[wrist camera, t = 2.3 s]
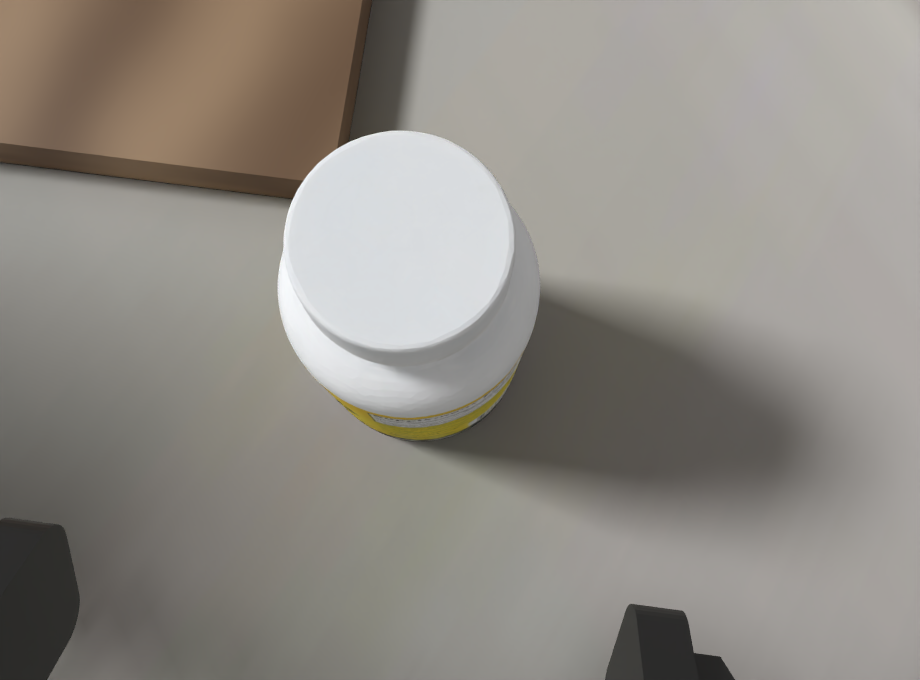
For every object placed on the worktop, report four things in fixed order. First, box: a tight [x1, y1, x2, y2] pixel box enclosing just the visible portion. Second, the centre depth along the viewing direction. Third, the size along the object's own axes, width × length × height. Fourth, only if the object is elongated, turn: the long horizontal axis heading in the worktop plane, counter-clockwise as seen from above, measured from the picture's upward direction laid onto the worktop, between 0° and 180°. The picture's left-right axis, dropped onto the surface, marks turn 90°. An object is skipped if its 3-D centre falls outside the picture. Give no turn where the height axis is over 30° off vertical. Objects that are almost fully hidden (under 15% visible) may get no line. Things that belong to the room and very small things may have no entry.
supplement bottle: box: [278, 131, 540, 441], centre depth 19 cm, size 5×5×10 cm
